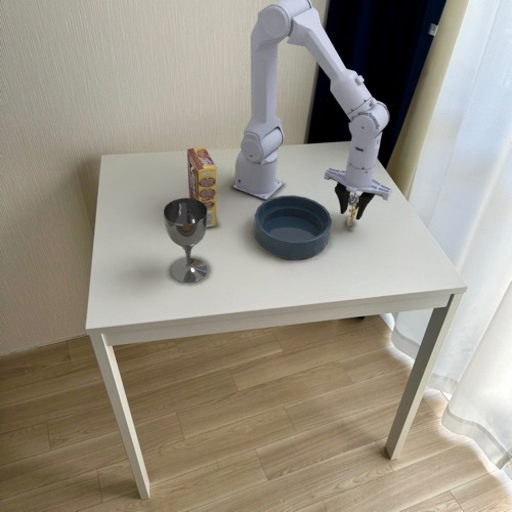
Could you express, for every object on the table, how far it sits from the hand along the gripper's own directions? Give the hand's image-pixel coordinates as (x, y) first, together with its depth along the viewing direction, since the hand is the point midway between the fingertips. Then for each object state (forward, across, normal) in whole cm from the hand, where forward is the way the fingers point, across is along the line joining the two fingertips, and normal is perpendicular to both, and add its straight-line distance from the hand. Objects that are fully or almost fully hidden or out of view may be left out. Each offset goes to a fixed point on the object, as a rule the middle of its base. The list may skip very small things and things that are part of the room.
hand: (351, 214), depth 116 cm
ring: (+3, 0, 0) cm, 3 cm away
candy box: (+3, -29, -16) cm, 33 cm away
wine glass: (+3, -21, -32) cm, 38 cm away
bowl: (+3, -9, -11) cm, 14 cm away
